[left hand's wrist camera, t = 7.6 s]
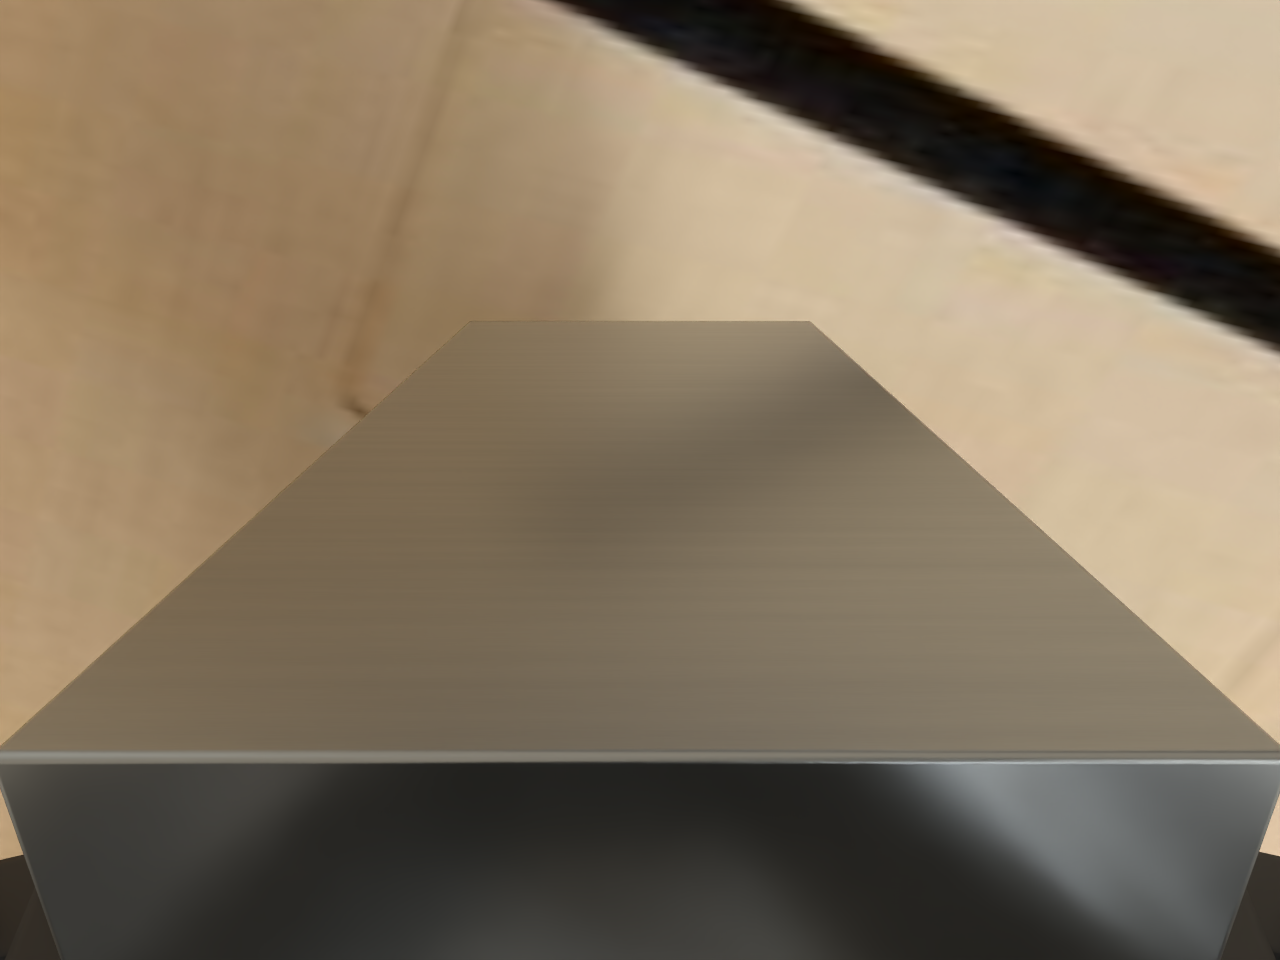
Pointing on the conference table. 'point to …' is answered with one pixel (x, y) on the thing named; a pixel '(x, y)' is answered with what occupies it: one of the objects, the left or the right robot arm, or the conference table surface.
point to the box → (640, 694)
